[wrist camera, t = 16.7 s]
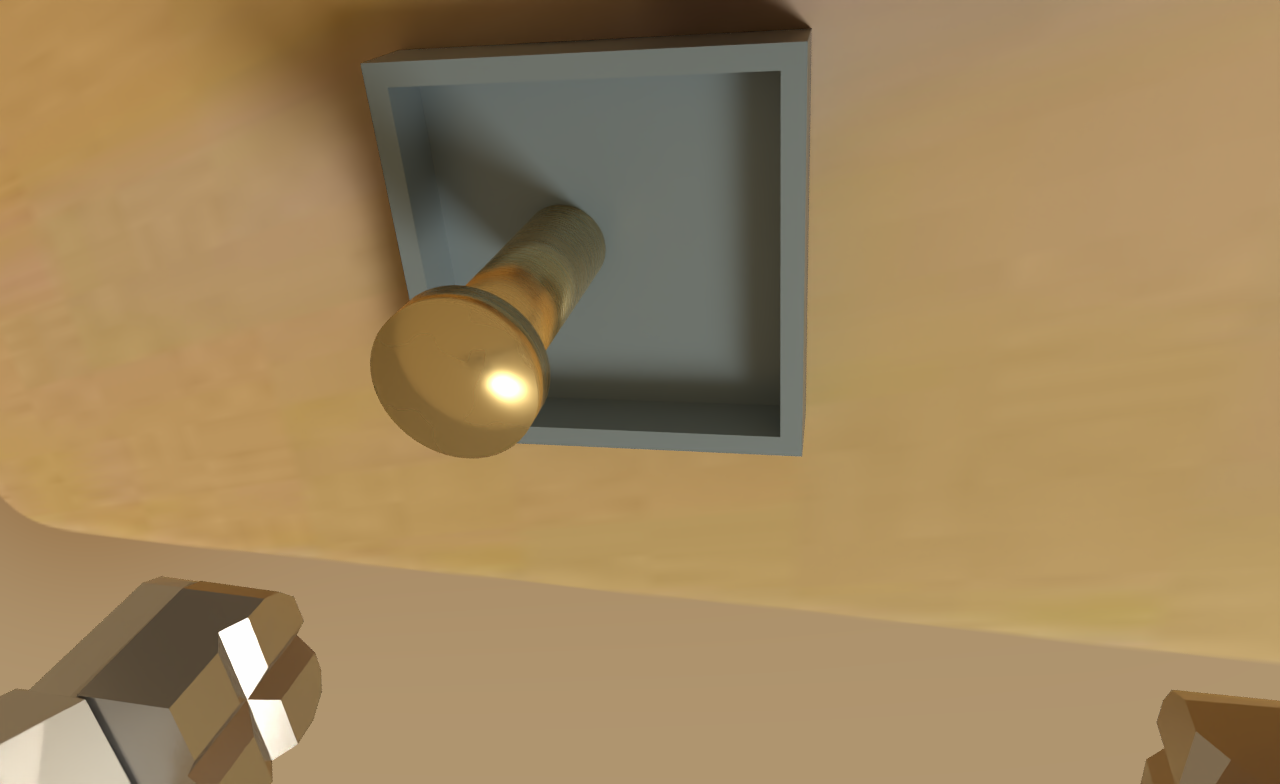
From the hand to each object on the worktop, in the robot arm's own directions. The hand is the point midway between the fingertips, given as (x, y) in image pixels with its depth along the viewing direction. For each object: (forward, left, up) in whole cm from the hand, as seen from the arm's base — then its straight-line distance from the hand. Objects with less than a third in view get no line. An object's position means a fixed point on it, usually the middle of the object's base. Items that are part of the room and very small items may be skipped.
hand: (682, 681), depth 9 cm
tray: (+7, +5, -26) cm, 27 cm away
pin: (+9, +5, -25) cm, 27 cm away
